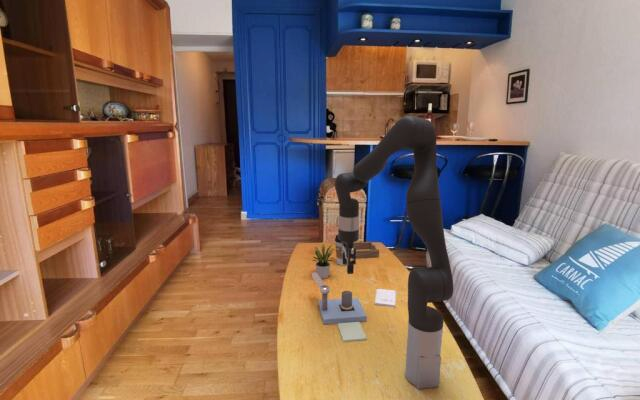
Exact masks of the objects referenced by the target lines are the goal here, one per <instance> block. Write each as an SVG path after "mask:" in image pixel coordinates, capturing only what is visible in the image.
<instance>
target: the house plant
mask: <svg viewBox="0 0 640 400" xmlns="http://www.w3.org/2000/svg"><path fill="white" fill-rule="evenodd" d="M335 244H336V242H335V243H331V245H329V246H328V248H327V249H326V247H325V244H324V243H323V242H321V244H320V243H319V242H318V245H319V246H320V249H321V251H320V250H319V248H318V247H317V246H316V245H314V244H312V246H313V247H314V249H315V251H314V256H313V255H311V257H312V258H314V259H312V260H311V261H312V262H315V270H316V272H317V274H318V275H319V277H320V278H321V279H322V280H323V279H327V278H329V274H330V268H331V262H334V260H336V259H335V257H331V255H332V254H333V253H334V252H335V251H336V248H335V247H333V246H334V245H335ZM332 247H333V248H332Z"/></svg>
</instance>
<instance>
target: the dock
mask: <svg viewBox="0 0 640 400" xmlns="http://www.w3.org/2000/svg"><path fill="white" fill-rule="evenodd" d="M328 294H329V293H327V294H323V293H321V298H322V299H319V300H318V303H317V305H318V308H319V309H318V310H319V312H320V316H321V320H322V324H323V325H335V324H338V323H350V322H360V323H361V322H367V317H368V315H367V314H366V311H365V310H364V308H363V306H362V303H361V302H360V300H359V298H358V297H352V305H353V308H352V311H342V312H341V304H342V298H331V299H329V298H328Z"/></svg>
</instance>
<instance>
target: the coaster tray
mask: <svg viewBox="0 0 640 400" xmlns="http://www.w3.org/2000/svg"><path fill="white" fill-rule="evenodd" d="M353 245H354V246H355V248H356V259H357V260H358V259H373V258H374V259H375V258H376V259H377V258H380V250H379V248H378V247H377V246H376V245H375V243H374V242H373V241H362V242H360V241H356V242H354V243H353Z"/></svg>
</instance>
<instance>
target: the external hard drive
mask: <svg viewBox="0 0 640 400" xmlns="http://www.w3.org/2000/svg"><path fill="white" fill-rule="evenodd" d="M396 299H397V290H394V289H384V288H377V289H376V291H375V299H374V305H375V306H380V307H389V308H396V305H397V304H396V302H397V301H396Z"/></svg>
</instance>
